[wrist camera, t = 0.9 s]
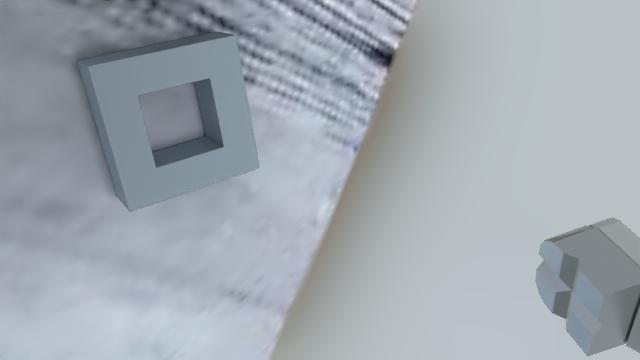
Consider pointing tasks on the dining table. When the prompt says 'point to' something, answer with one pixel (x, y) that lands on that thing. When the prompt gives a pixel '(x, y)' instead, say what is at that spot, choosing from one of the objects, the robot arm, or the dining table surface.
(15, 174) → the dining table surface
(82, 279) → the dining table surface
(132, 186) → the slate socket block
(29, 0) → the dining table surface
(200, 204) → the dining table surface
